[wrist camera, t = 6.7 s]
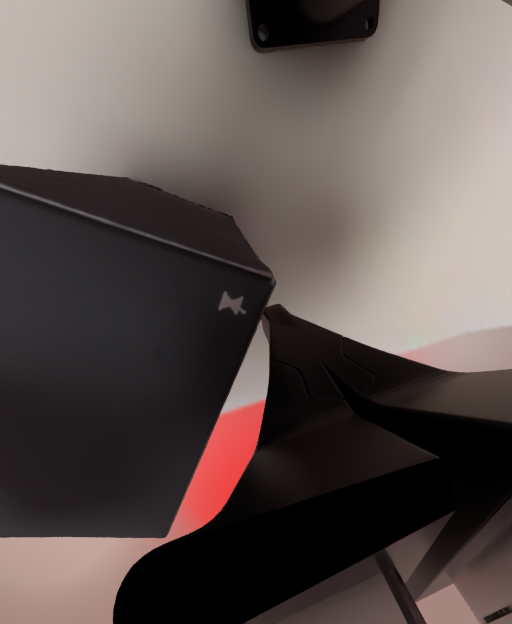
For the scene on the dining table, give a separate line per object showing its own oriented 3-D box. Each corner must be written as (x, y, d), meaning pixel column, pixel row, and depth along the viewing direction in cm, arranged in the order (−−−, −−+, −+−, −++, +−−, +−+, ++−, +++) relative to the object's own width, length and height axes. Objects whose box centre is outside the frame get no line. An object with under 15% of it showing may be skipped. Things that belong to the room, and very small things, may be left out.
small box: (113, 169, 12) (-157, 115, 3) (237, 217, 14) (296, 271, 5) (89, 344, 16) (-66, 553, 7) (190, 362, 18) (175, 543, 9)
